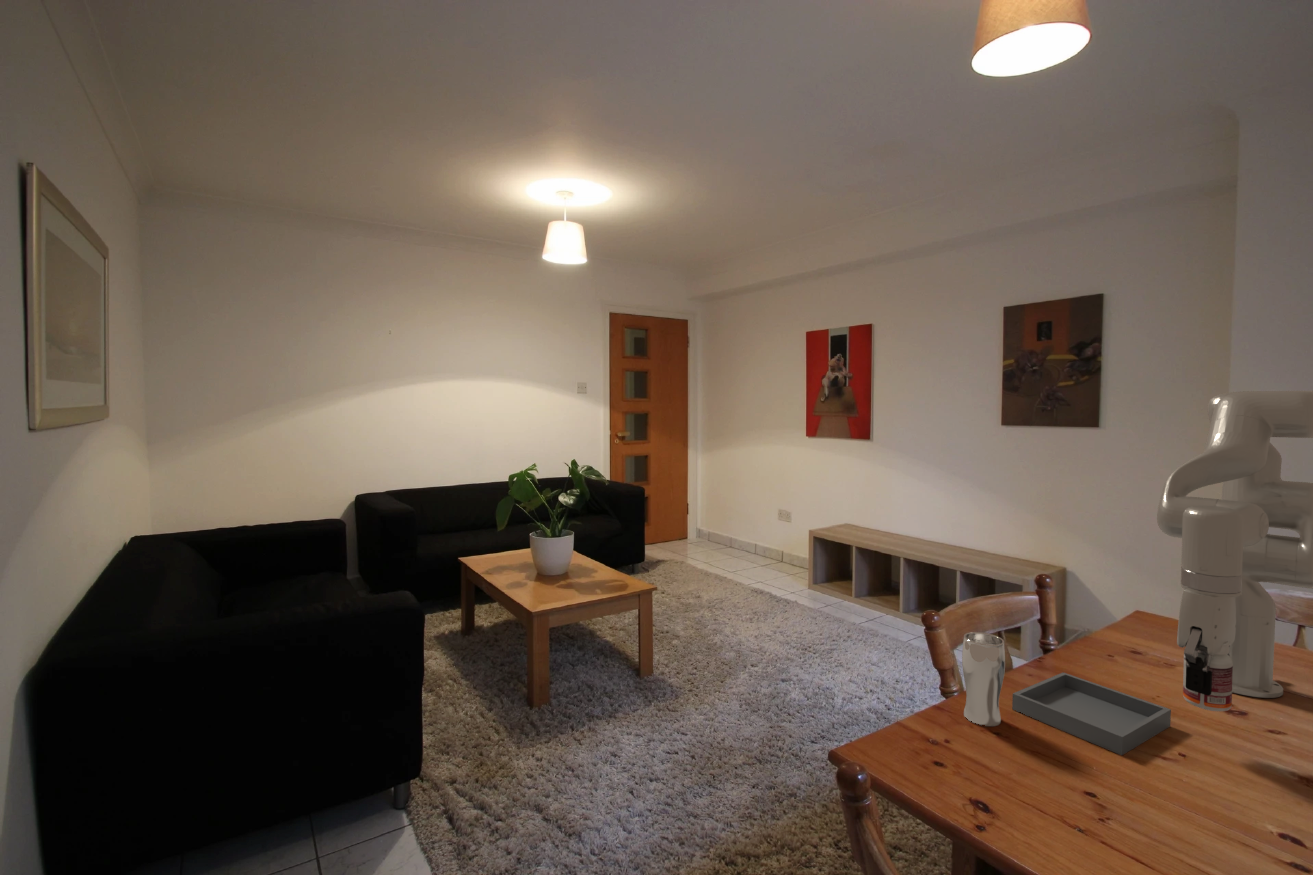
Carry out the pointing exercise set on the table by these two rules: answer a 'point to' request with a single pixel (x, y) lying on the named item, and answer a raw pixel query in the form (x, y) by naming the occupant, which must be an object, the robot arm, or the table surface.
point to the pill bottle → (1214, 683)
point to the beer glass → (983, 677)
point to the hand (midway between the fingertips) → (1207, 685)
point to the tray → (1092, 712)
